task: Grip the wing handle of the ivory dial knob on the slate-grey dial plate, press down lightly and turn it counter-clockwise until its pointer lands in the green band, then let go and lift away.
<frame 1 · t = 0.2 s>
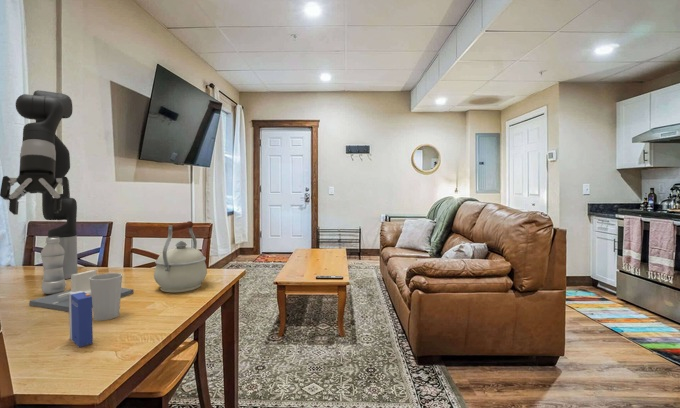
hand: (35, 213, 92), 31 cm above the table, tool tilted 20°, fingers open, 8 cm apart
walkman: (80, 341, 83), on the table
plastic bottle: (54, 293, 119), on the table
dial plate: (84, 299, 114), on the table
cup: (106, 316, 99), on the table
kettle: (183, 286, 130), on the table
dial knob: (78, 285, 111), point 5 cm above the table, hinge at 0.0°
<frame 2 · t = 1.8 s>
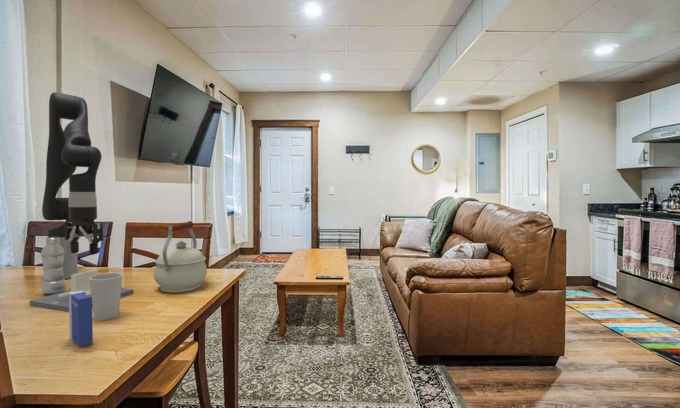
hand: (84, 253, 113), 16 cm above the table, tool pointing down, fingers open, 8 cm apart
nothing on the table moved.
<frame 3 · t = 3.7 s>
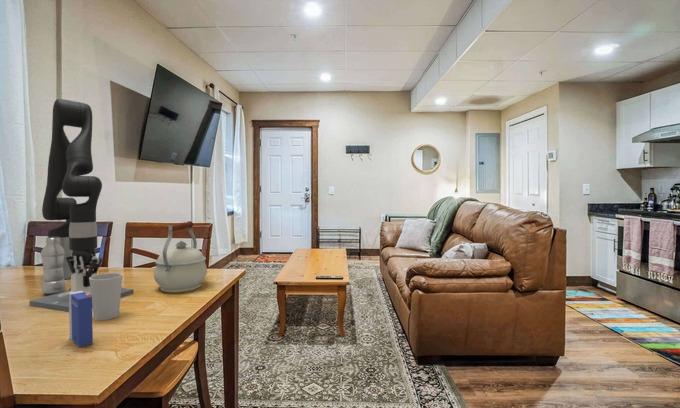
hand: (84, 285, 113), 5 cm above the table, tool pointing down, fingers closed on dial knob, 2 cm apart
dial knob: (78, 285, 111), point 5 cm above the table, hinge at 0.1°, touching gripper
everything else where it was.
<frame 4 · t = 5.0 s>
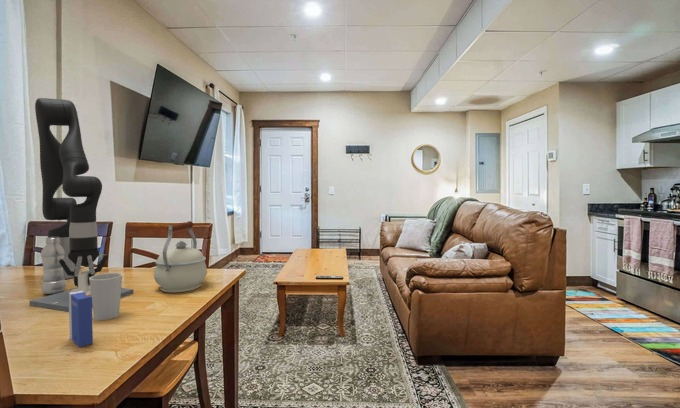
hand: (84, 285, 114), 5 cm above the table, tool pointing down, fingers closed on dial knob, 3 cm apart
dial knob: (82, 285, 112), point 5 cm above the table, hinge at 42.5°, touching gripper
everything else where it was.
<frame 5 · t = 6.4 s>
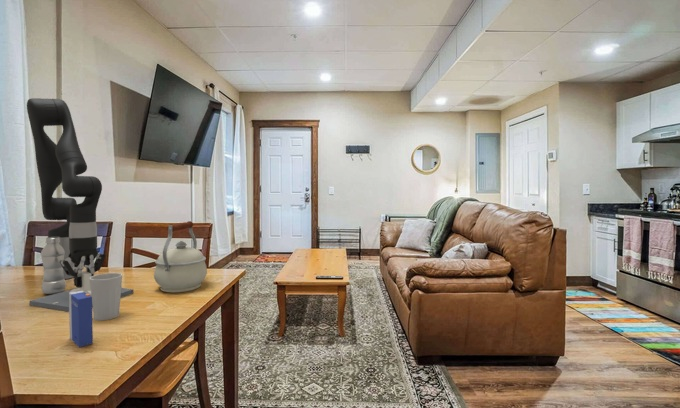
hand: (84, 285, 114), 5 cm above the table, tool pointing down, fingers closed on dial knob, 2 cm apart
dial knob: (86, 284, 112), point 5 cm above the table, hinge at 69.3°, touching gripper
everything else where it was.
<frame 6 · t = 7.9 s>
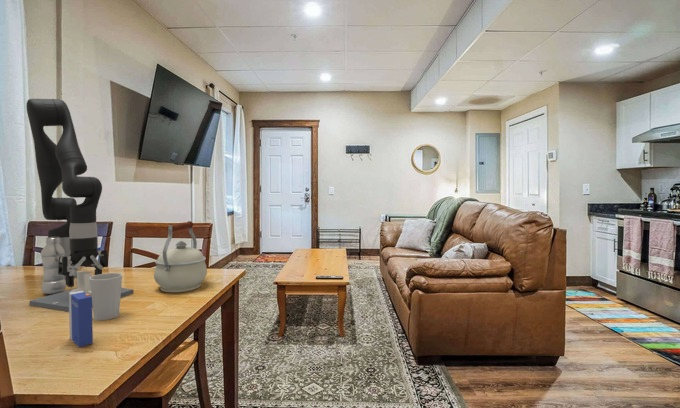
hand: (84, 283, 113), 5 cm above the table, tool pointing down, fingers open, 8 cm apart
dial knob: (86, 284, 112), point 5 cm above the table, hinge at 71.1°
everything else where it was.
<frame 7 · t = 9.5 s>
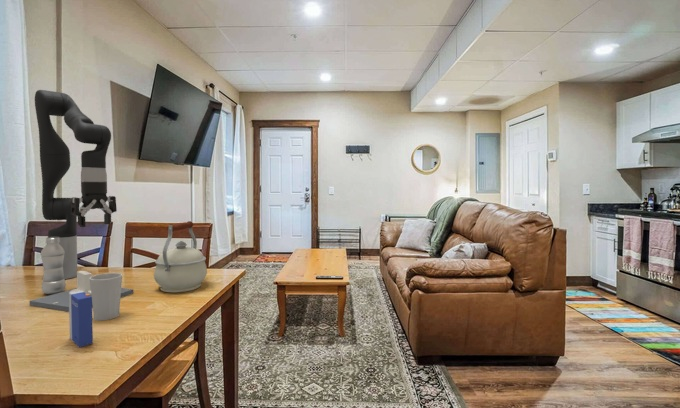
hand: (95, 225, 121), 24 cm above the table, tool pointing down, fingers open, 8 cm apart
nothing on the table moved.
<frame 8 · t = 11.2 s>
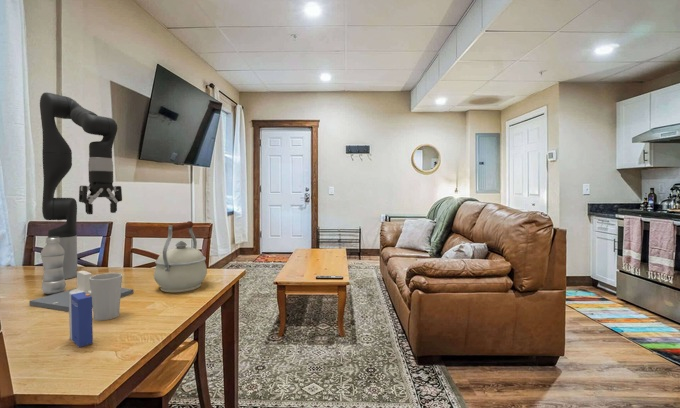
hand: (101, 213, 126), 28 cm above the table, tool pointing down, fingers open, 8 cm apart
nothing on the table moved.
at the end: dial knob at +71° (first picture: +0°); the gripper is holding nothing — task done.
